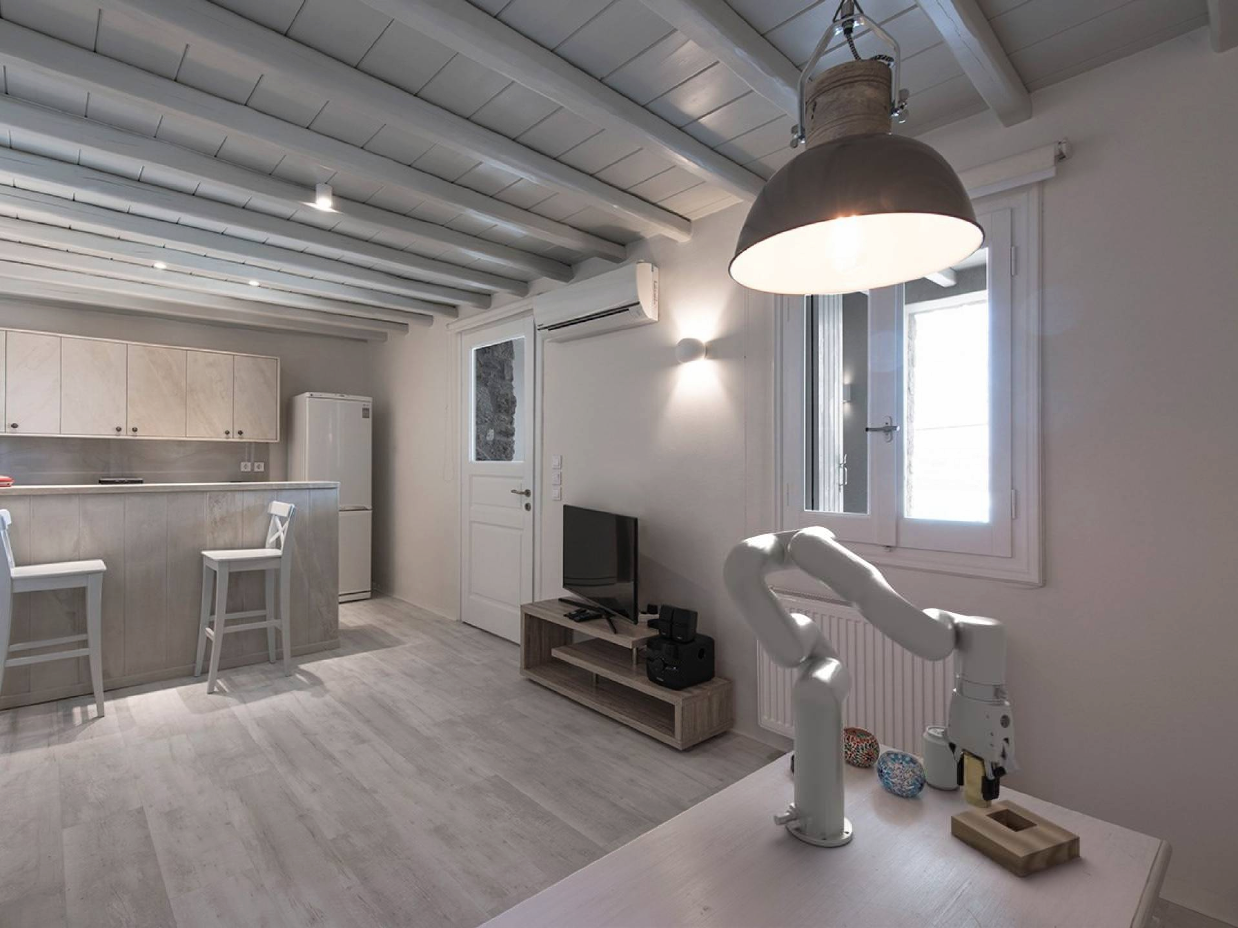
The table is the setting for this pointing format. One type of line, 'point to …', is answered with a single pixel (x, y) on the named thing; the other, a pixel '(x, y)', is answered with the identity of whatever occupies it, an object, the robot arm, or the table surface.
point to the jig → (1015, 837)
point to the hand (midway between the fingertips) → (977, 790)
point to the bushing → (974, 780)
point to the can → (938, 760)
